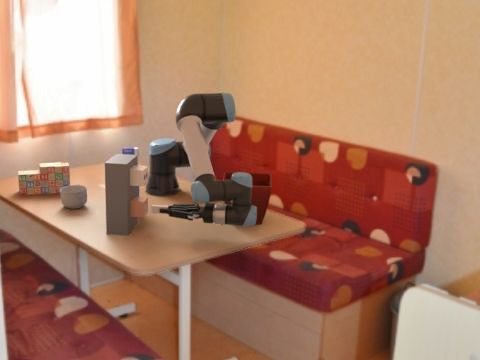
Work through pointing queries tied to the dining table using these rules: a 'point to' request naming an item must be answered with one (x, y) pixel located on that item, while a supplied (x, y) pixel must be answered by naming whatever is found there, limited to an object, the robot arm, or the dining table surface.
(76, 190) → the teacup
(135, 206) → the lower button
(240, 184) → the robot arm
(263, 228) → the dining table surface
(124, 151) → the walkman
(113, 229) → the button post
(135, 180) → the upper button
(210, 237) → the dining table surface
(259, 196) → the plant pot
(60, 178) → the stack of blocks
